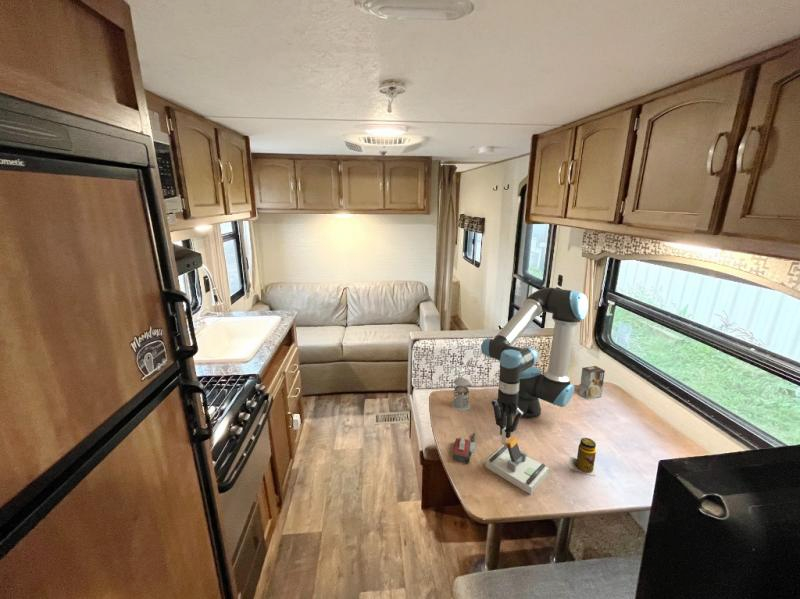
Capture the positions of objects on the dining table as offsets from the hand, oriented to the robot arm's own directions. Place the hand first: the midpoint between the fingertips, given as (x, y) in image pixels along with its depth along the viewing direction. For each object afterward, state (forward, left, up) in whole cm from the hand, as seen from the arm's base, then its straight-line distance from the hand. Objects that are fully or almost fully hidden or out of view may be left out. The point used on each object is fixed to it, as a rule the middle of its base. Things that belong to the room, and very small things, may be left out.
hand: (504, 443), depth 135 cm
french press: (-23, -38, -10) cm, 46 cm away
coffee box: (-81, +6, -10) cm, 82 cm away
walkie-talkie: (+3, -16, -10) cm, 20 cm away
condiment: (-21, +23, -10) cm, 32 cm away
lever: (0, +6, -5) cm, 8 cm away
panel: (0, +6, -10) cm, 11 cm away
